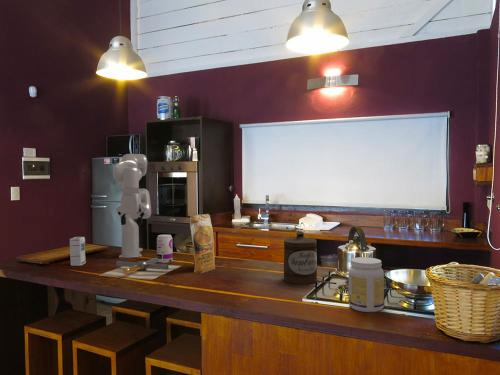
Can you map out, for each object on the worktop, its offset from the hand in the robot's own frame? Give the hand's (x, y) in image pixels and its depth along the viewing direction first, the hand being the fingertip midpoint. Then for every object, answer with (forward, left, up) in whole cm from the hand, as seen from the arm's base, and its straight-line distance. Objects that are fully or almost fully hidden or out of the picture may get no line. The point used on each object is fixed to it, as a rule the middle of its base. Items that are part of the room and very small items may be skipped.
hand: (131, 224), depth 203 cm
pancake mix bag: (-4, +38, -22) cm, 44 cm away
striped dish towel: (+8, +11, -22) cm, 26 cm away
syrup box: (+2, -32, -22) cm, 39 cm away
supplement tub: (+29, +116, -22) cm, 122 cm away
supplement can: (-14, +11, -22) cm, 28 cm away
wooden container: (-1, +87, -22) cm, 90 cm away
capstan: (+8, +11, -21) cm, 25 cm away
